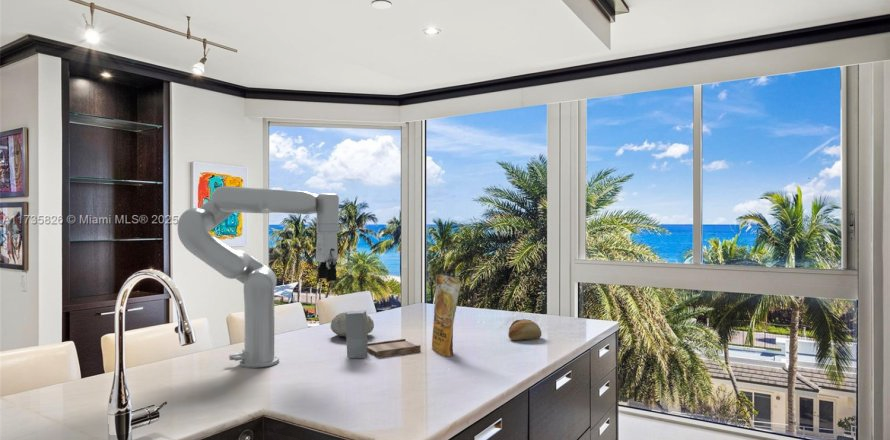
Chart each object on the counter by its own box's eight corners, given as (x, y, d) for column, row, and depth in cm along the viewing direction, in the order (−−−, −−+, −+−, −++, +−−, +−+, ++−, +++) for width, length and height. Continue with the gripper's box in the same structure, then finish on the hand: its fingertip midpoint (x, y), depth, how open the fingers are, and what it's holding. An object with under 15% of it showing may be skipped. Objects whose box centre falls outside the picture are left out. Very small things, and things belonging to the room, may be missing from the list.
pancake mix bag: (443, 345, 203) (443, 273, 203) (462, 356, 185) (463, 278, 186) (426, 346, 201) (427, 273, 201) (445, 358, 183) (445, 278, 183)
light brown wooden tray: (378, 357, 184) (378, 351, 184) (363, 349, 195) (364, 343, 195) (420, 351, 193) (420, 345, 193) (404, 344, 204) (404, 338, 204)
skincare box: (364, 358, 183) (365, 313, 183) (344, 358, 183) (344, 313, 183) (368, 352, 191) (368, 309, 191) (348, 352, 191) (349, 309, 191)
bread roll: (502, 338, 215) (502, 319, 215) (532, 335, 222) (532, 316, 222) (515, 343, 206) (515, 323, 207) (546, 340, 213) (546, 320, 213)
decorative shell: (382, 335, 220) (382, 311, 221) (353, 343, 205) (354, 318, 205) (350, 330, 230) (350, 307, 230) (321, 338, 215) (321, 313, 215)
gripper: (309, 228, 187) (308, 277, 187) (325, 229, 172) (324, 282, 172) (329, 228, 191) (329, 276, 191) (346, 229, 176) (346, 281, 176)
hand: (327, 279), depth 181 cm, fingers open, 8 cm apart
